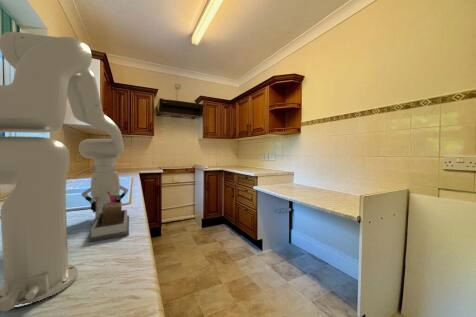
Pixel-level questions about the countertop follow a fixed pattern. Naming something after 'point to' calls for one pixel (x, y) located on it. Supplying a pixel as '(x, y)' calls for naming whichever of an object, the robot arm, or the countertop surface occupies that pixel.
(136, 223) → the countertop surface
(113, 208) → the grey open tray
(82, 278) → the countertop surface
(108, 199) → the supplement box
